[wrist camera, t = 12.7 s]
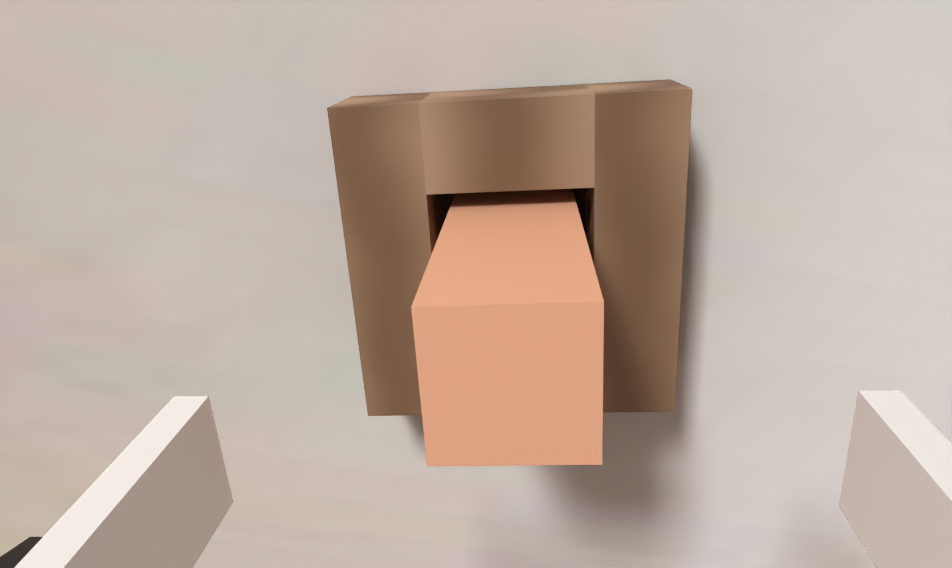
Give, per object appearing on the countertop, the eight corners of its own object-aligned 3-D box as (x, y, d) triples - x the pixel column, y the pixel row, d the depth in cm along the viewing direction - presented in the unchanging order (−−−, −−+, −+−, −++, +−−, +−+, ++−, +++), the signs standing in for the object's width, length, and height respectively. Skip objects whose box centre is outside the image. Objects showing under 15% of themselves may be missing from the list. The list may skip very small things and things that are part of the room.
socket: (670, 79, 25) (692, 88, 22) (658, 367, 30) (674, 411, 26) (351, 96, 26) (327, 108, 23) (384, 373, 31) (367, 415, 27)
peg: (570, 183, 27) (603, 301, 16) (571, 289, 29) (602, 464, 17) (457, 188, 27) (410, 306, 16) (464, 292, 29) (427, 466, 18)
